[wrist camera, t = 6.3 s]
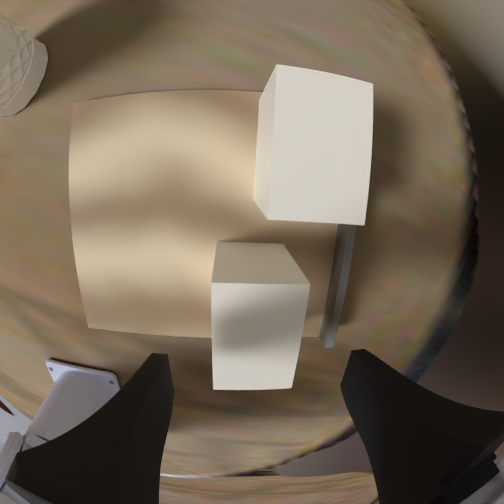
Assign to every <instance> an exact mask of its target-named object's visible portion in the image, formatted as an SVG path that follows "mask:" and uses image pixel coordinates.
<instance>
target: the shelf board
mask: <svg viewBox="0 0 504 504" xmlns="http://www.w3.org/2000/svg"><path fill="white" fill-rule="evenodd" d="M262 93H263V92H251V91H233V90H178V91H160V92H148V93H137V94H129V95H121V96H114V97H107V98H101V99H95V100H90V101H85V102H80V103H75V104H73V109H72V119H71V131H70V147H69V200H70V217H71V229H72V239H73V247H74V255H75V262H76V269H77V275H78V281H79V286H80V291H81V296H82V301H83V306H84V310H85V314H86V319H87V323H88V327H89V328H96V329H104V330H112V331H121V332H130V333H140V334H152V335H165V336H180V337H201V338H212V324H211V281H212V273H213V266H214V259H215V252H216V245H217V242H246V243H275V244H284V246H285V247H286V249H287V250H288V252H289V253H290V255H291V256H292V258H293V259H294V261H295V262H296V263H297V265H298V266H299V268H300V269H301V271H302V272H303V274H304V275H305V277H306V278H307V280H308V281H309V283H310V290H309V297H308V303H307V309H306V315H305V321H304V327H303V333H302V337H316V336H319V337H320V339H321V341H322V343H323V345H324V347H325V348H333V346H334V342H335V338H336V334H337V330H338V326H339V322H340V317H341V313H342V308H343V304H344V299H345V294H346V289H347V284H348V279H349V273H350V268H351V262H352V256H353V250H354V243H355V237H356V230H357V225H351V224H337V223H321V222H303V221H284V220H268V219H267V218H266V217H265V215H264V214H263V212H262V211H261V210H260V208H259V207H258V206H257V204H256V203H255V201H254V182H255V164H256V147H257V130H258V112H259V99H260V97H261V95H262Z"/></svg>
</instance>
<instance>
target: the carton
mask: <svg viewBox="0 0 504 504" xmlns="http://www.w3.org/2000/svg"><path fill="white" fill-rule="evenodd" d="M309 290H310V283H309V281H308V280H307V278H306V277H305V275H304V274H303V272H302V271H301V269H300V268H299V266H298V265H297V263H296V262H295V261H294V259H293V258H292V256H291V255H290V253H289V252H288V250H287V249H286V247H285V246H284V244H275V243H246V242H217V245H216V252H215V259H214V266H213V273H212V281H211V324H212V367H213V390H266V389H286V388H292V383H293V379H294V374H295V369H296V364H297V359H298V354H299V349H300V343H301V338H302V333H303V327H304V321H305V315H306V309H307V303H308V297H309Z"/></svg>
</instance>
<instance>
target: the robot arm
mask: <svg viewBox="0 0 504 504" xmlns="http://www.w3.org/2000/svg"><path fill="white" fill-rule="evenodd" d="M46 365H47V367H48V370H49V372H50V374H51V376H52V378H53V381H54V385H53V386H52V388H51V390H50V391H49V393H48V395H47V396H46V398H45V400H44V401H43V403H42V405H41V407H40V408H39V410H38V412H37V414H36V415H35V417H34V419H33V421H32V423H31V425H30V426H29V429H28V430H27V432H26V434H25V435H24V436H22V435H21V434H20V433H19V432H15V433H14V432H9V433H8V434H7V435H6V437H5V438H4V439H3V441H2V442H1V444H0V504H159V481H160V467H161V460H162V455H163V450H164V445H165V441H166V436H167V432H168V427H169V423H170V418H171V414H172V405H173V394H174V389H173V384H172V378H171V372H170V365H169V359H168V354H157V353H152V354H151V355H150V356H149V357H148V358H147V359H146V361H145V362H144V363H143V364H142V366H141V367H140V368H139V369H138V370H137V371H136V373H135V374H134V375H133V376H132V377H131V378H130V379H129V380H128V382H127V383H126V384H125V385H124V386H123V387H122V388H121V389H120V386H119V383H118V380H117V377H116V375H115V374H113V373H111V372H106V371H101V370H95V369H90V368H85V367H80V366H76V365H71V364H67V363H63V362H58V361H54V360H51V359H48V360H47V361H46ZM340 387H341V390H342V394H343V397H344V401H345V404H346V407H347V409H348V411H349V413H350V415H351V418H352V420H353V422H354V424H355V426H356V428H357V430H358V432H359V434H360V437H361V439H362V441H363V443H364V445H365V448H366V450H367V453H368V456H369V459H370V463H371V466H372V470H373V474H374V478H375V482H376V486H377V491H378V497H379V503H380V504H504V457H503V458H502V459H501V460H500V461H499V462H498V463H497V464H495V463H494V462H493V461H494V460H495V459H496V455H495V454H494V451H495V450H496V449H497V448H498V447H499V446H500V444H502V443H503V441H504V412H500V411H491V410H484V409H479V408H475V407H470V406H467V405H463V404H460V403H457V402H455V401H452V400H449V399H447V398H444V397H442V396H440V395H438V394H435V393H433V392H431V391H429V390H427V389H425V388H423V387H422V386H420V385H418V384H417V383H415V382H413V381H412V380H410V379H408V378H407V377H405V376H404V375H402V374H401V373H399V372H398V371H396V370H395V369H393V368H392V367H390V366H389V365H388V364H386V363H385V362H383V361H382V360H380V359H379V358H378V357H376V356H375V355H373V354H372V353H370V352H369V351H367V350H365V349H361V350H352V351H351V354H350V358H349V361H348V364H347V367H346V370H345V373H344V376H343V379H342V382H341V385H340Z"/></svg>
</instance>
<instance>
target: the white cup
mask: <svg viewBox="0 0 504 504" xmlns="http://www.w3.org/2000/svg"><path fill="white" fill-rule="evenodd" d="M47 62H48V54H47V49H46V46H45V45H44V44H43V43H41V42H39V41H38V40H36V39H34V38H33V37H32V36H31V35H29V34H28V33H27V31H26V30H24V29H22V28H21V27H20V26H18V25H17V24H16V23H14V22H12V21H11V20H9V19H7V18H6V17H4V16H2V15H1V14H0V117H8V116H14V115H15V114H16V113H18V112H19V111H21V110H22V109H23V108H25V107H26V105H27V104H28V103H29V101H30V100H31V99H32V97H33V96H34V95H35V94H36V92H37V90H38V88H39V86H40V84H41V82H42V80H43V77H44V75H45V72H46V67H47Z"/></svg>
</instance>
